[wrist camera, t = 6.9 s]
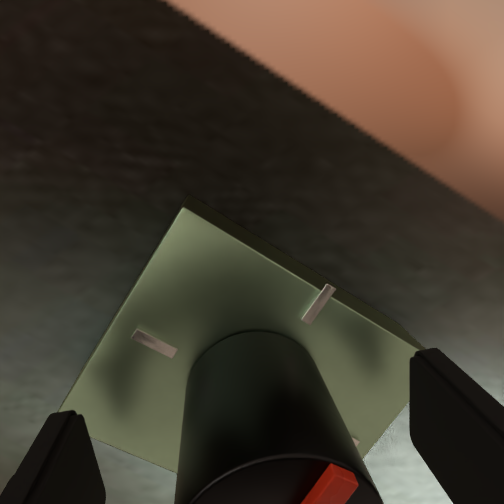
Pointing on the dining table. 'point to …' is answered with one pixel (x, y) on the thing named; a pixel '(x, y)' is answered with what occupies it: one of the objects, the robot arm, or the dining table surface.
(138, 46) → the dining table surface
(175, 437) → the dial panel
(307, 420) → the dial
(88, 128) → the dining table surface
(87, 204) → the dining table surface
